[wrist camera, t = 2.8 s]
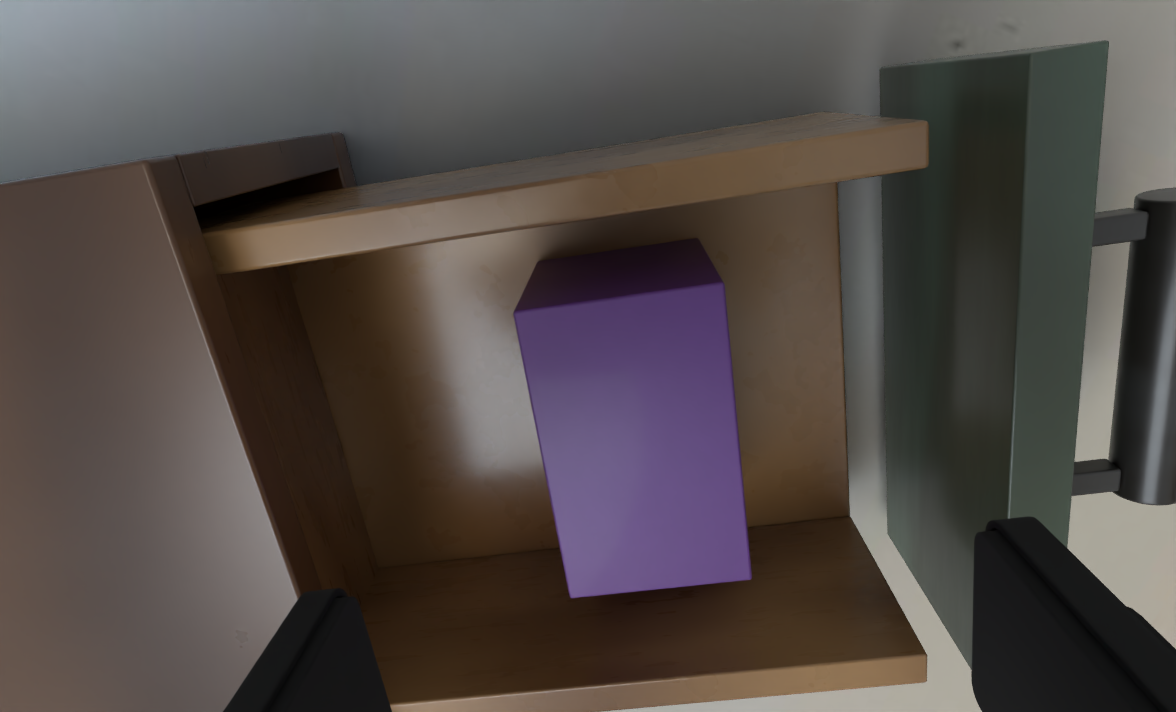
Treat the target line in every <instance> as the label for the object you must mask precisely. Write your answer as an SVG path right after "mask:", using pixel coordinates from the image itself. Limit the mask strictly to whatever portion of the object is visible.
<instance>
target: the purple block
mask: <svg viewBox="0 0 1176 712" xmlns="http://www.w3.org/2000/svg"><path fill="white" fill-rule="evenodd" d="M513 315H514V320H515V325H516V330H517V335H518V340H519V345H520V350H521V355H522V360H523V365H524V370H525V375H526V380H527V385H528V391H529V396H530V401H531V406H532V411H533V416H534V421H535V426H536V431H537V436H538V441H539V446H540V451H541V456H542V461H543V466H544V471H545V476H546V481H547V486H548V491H549V496H550V501H551V506H552V511H553V516H554V521H555V526H556V531H557V536H558V541H559V546H560V551H561V556H562V561H563V566H564V571H565V577H566V582H567V587H568V592H569V596H570V598H580V597H589V596H599V595H608V594H618V593H628V592H637V591H647V590H657V589H666V588H676V587H686V586H695V585H705V584H714V583H724V582H734V581H743V580H750V579H751V578H752V571H751V560H750V549H749V539H748V528H747V517H746V507H745V496H744V485H743V475H742V464H741V453H740V443H739V432H738V421H737V411H736V400H735V389H734V379H733V368H732V357H731V347H730V336H729V325H728V315H727V304H726V293H725V284H724V282H723V281H722V279H721V277H720V275H719V273H718V272H717V270H716V268H715V266H714V265H713V263H712V261H711V259H710V258H709V256H708V254H707V252H706V251H705V249H704V247H703V245H702V244H701V242H700V240H699V239H698V238H694V239H687V240H680V241H673V242H666V243H659V244H653V245H646V246H639V247H632V248H625V249H618V250H612V251H605V252H598V253H591V254H584V255H577V256H571V257H564V258H557V259H550V260H543V261H538V262H537V264H536V266H535V268H534V270H533V272H532V274H531V276H530V278H529V280H528V283H527V285H526V287H525V289H524V291H523V293H522V295H521V297H520V300H519V302H518V304H517V306H516V308H515V310H514V313H513Z"/></svg>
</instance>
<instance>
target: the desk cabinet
mask: <svg viewBox="0 0 1176 712" xmlns="http://www.w3.org/2000/svg"><path fill="white" fill-rule="evenodd" d="M355 186H356V182H355V178H354V174H353V170H352V166H351V162H350V159H349V155H348V151H347V147H346V143H345V139H344V135H343V134H342V132H335V133H327V134H320V135H312V136H305V137H298V138H290V139H283V140H276V141H268V142H261V143H254V144H246V145H239V146H232V147H225V148H217V149H210V150H203V151H195V152H188V153H181V154H174V155H167V156H159V157H152V158H145V159H138V160H133V161H127V162H121V163H115V164H109V165H103V166H97V167H91V168H85V169H79V170H73V171H67V172H61V173H55V174H49V175H43V176H37V177H31V178H25V179H19V180H13V181H7V182H1V183H0V712H223V711H224V710H225V708H226V707H227V705H228V704H229V702H230V701H231V699H232V698H233V696H234V695H235V693H236V692H237V690H238V689H239V687H240V686H241V684H242V683H243V681H244V680H245V678H246V677H247V675H248V674H249V672H250V671H251V669H252V668H253V666H254V665H255V663H256V662H257V660H258V659H259V657H260V656H261V654H262V653H263V651H264V650H265V648H266V647H267V645H268V644H269V642H270V641H271V639H272V638H273V636H274V635H275V633H276V632H277V630H278V629H279V627H280V626H281V624H282V623H283V621H284V620H285V618H286V617H287V615H288V614H289V612H290V611H291V609H292V608H293V606H294V605H295V603H296V602H297V600H298V599H299V597H300V596H301V595H302V594H303V593H305V592H307V591H317V590H323V589H322V586H321V583H320V580H319V577H318V574H317V571H316V568H315V566H314V563H313V560H312V557H311V554H310V551H309V548H308V545H307V542H306V539H305V536H304V533H303V530H302V527H301V524H300V521H299V518H298V515H297V512H296V509H295V506H294V503H293V500H292V498H291V495H290V492H289V489H288V486H287V483H286V480H285V477H284V474H283V471H282V468H281V465H280V462H279V459H278V456H277V453H276V450H275V447H274V444H273V441H272V438H271V435H270V432H269V430H268V427H267V424H266V421H265V418H264V415H263V412H262V409H261V406H260V403H259V400H258V397H257V394H256V391H255V388H254V385H253V382H252V379H251V376H250V373H249V370H248V367H247V365H246V362H245V359H244V356H243V353H242V350H241V347H240V344H239V341H238V338H237V335H236V332H235V329H234V326H233V323H232V320H231V317H230V314H229V311H228V308H227V305H226V302H225V299H224V297H223V294H222V291H221V288H220V285H219V282H218V279H217V276H216V273H215V270H214V267H213V264H212V261H211V258H210V255H209V252H208V249H207V246H206V243H205V240H204V237H203V234H202V232H201V229H200V226H199V223H198V219H202V218H205V217H208V216H212V215H215V214H218V213H222V212H225V211H228V210H232V209H235V208H238V207H242V206H245V205H248V204H252V203H255V202H260V201H267V200H273V199H279V198H286V197H292V196H298V195H304V194H311V193H317V192H323V191H330V190H336V189H342V188H348V187H355Z"/></svg>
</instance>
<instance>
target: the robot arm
mask: <svg viewBox="0 0 1176 712" xmlns="http://www.w3.org/2000/svg"><path fill="white" fill-rule="evenodd" d="M972 686H973V691H974V694H975V698H976V700H977V703H978V705H979V707H980V709H981V710H982V712H1176V649H1175V648H1174V647H1173V646H1172V645H1171V644H1170V643H1169V642H1168V641H1167V640H1166V639H1165V638H1164V637H1163V636H1162V635H1161V634H1159V633H1158V632H1157V631H1156V630H1155V629H1154V628H1153V627H1152V626H1151V625H1150V624H1149V623H1148V622H1147V621H1146V620H1145V619H1144V618H1143V617H1142V616H1141V615H1140V614H1138V613H1137V612H1136V611H1134V610H1133V609H1132V608H1129V607H1126V606H1125V605H1124V604H1123V603H1122V602H1121V601H1120V600H1119V599H1118V598H1117V597H1116V596H1115V595H1114V594H1113V593H1112V592H1111V591H1110V590H1109V589H1108V588H1107V587H1106V586H1105V585H1104V584H1103V583H1102V582H1101V581H1100V580H1099V579H1098V578H1097V577H1096V576H1095V575H1094V574H1093V573H1092V572H1091V571H1090V570H1089V569H1088V568H1087V567H1085V566H1084V565H1083V564H1082V563H1081V562H1080V561H1079V560H1078V559H1077V558H1076V557H1075V556H1074V555H1073V554H1072V553H1071V552H1070V551H1069V550H1068V549H1067V548H1066V547H1065V546H1064V545H1063V544H1062V543H1061V542H1060V541H1059V540H1058V539H1057V538H1056V537H1055V536H1054V535H1053V534H1052V533H1051V532H1050V531H1049V530H1048V529H1047V528H1046V527H1045V526H1044V525H1043V524H1042V523H1041V522H1040V521H1039V520H1037V519H1036V518H1035V517H1031V516H1028V517H1018V518H1009V519H999V520H991V521H989V522H988V523H987V525H986V529H985V531H984V532H978V533H976V535H975V539H974V575H973V628H972ZM223 712H392V710H391V707H390V703H389V700H388V697H387V694H386V690H385V687H384V684H383V680H382V677H381V674H380V671H379V667H378V664H377V661H376V658H375V654H374V651H373V648H372V644H371V641H370V638H369V635H368V631H367V628H366V625H365V622H364V618H363V615H362V612H361V608H360V605H359V603H358V600H357V599H356V598H355V597H353V596H351V597H348V595H347V593H346V592H345V591H344V590H343V589H341V588H336V589H326V590H317V591H307V592H305V593H303V594H302V595H301V596H300V597H299V599H298V600H297V602H296V603H295V605H294V606H293V608H292V609H291V611H290V612H289V614H288V615H287V617H286V618H285V620H284V621H283V623H282V624H281V626H280V627H279V629H278V630H277V632H276V633H275V635H274V636H273V638H272V639H271V641H270V642H269V644H268V645H267V647H266V648H265V650H264V651H263V653H262V654H261V656H260V657H259V659H258V660H257V662H256V663H255V665H254V666H253V668H252V669H251V671H250V672H249V674H248V675H247V677H246V678H245V680H244V681H243V683H242V684H241V686H240V687H239V689H238V690H237V692H236V693H235V695H234V696H233V698H232V699H231V701H230V702H229V704H228V705H227V707H226V708H225V710H224V711H223Z"/></svg>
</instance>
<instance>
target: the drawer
mask: <svg viewBox="0 0 1176 712" xmlns="http://www.w3.org/2000/svg"><path fill="white" fill-rule="evenodd" d="M1108 47H1109V42H1108V41H1106V40H1104V41H1095V42H1086V43H1077V44H1068V45H1058V46H1049V47H1040V48H1031V49H1022V50H1013V51H1004V52H994V53H985V54H976V55H967V56H958V57H949V58H940V59H931V60H923V61H917V62H911V63H905V64H899V65H893V66H887V67H881V68H880V117H879V116H867V115H856V114H844V113H832V112H819V113H813V114H806V115H800V116H794V117H788V118H781V119H775V120H769V121H763V122H756V123H750V124H744V125H737V126H731V127H725V128H719V129H712V130H706V131H700V132H693V133H687V134H681V135H675V136H668V137H662V138H656V139H650V140H643V141H637V142H631V143H624V144H618V145H612V146H606V147H599V148H593V149H587V150H581V151H574V152H568V153H562V154H555V155H549V156H543V157H537V158H530V159H524V160H518V161H511V162H505V163H499V164H493V165H486V166H480V167H474V168H468V169H461V170H455V171H449V172H442V173H436V174H430V175H424V176H417V177H411V178H405V179H399V180H392V181H386V182H380V183H373V184H367V185H361V186H355V187H348V188H342V189H336V190H330V191H323V192H317V193H311V194H304V195H298V196H292V197H286V198H279V199H273V200H267V201H260V202H255V203H252V204H248V205H245V206H242V207H238V208H235V209H232V210H228V211H225V212H222V213H218V214H215V215H212V216H208V217H205V218H202V219H198V223H199V226H200V229H201V232H202V234H203V237H204V240H205V243H206V246H207V249H208V252H209V255H210V258H211V261H212V264H213V267H214V270H215V273H216V276H217V279H218V282H219V285H220V288H221V291H222V294H223V297H224V299H225V302H226V305H227V308H228V311H229V314H230V317H231V320H232V323H233V326H234V329H235V332H236V335H237V338H238V341H239V344H240V347H241V350H242V353H243V356H244V359H245V362H246V365H247V367H248V370H249V373H250V376H251V379H252V382H253V385H254V388H255V391H256V394H257V397H258V400H259V403H260V406H261V409H262V412H263V415H264V418H265V421H266V424H267V427H268V430H269V432H270V435H271V438H272V441H273V444H274V447H275V450H276V453H277V456H278V459H279V462H280V465H281V468H282V471H283V474H284V477H285V480H286V483H287V486H288V489H289V492H290V495H291V498H292V500H293V503H294V506H295V509H296V512H297V515H298V518H299V521H300V524H301V527H302V530H303V533H304V536H305V539H306V542H307V545H308V548H309V551H310V554H311V557H312V560H313V563H314V566H315V568H316V571H317V574H318V577H319V580H320V583H321V586H322V589H323V590H326V589H336V588H341V589H343V590H344V591H345V592H346V593H347V595H348V597H351V596H353V597H355V598H356V599H357V600H358V603H359V605H360V608H361V612H362V615H363V618H364V622H365V625H366V628H367V631H368V635H369V638H370V641H371V644H372V648H373V651H374V654H375V658H376V661H377V664H378V667H379V671H380V674H381V677H382V680H383V684H384V687H385V690H386V694H387V697H388V700H389V703H390V707H391V710H392V712H599V711H610V710H622V709H633V708H644V707H655V706H666V705H678V704H689V703H700V702H711V701H722V700H733V699H745V698H756V697H767V696H778V695H789V694H800V693H812V692H823V691H834V690H845V689H856V688H868V687H879V686H890V685H901V684H912V683H923V682H926V681H927V654H926V652H925V650H924V649H923V647H922V645H921V643H920V641H919V640H918V638H917V636H916V634H915V632H914V631H913V629H912V627H911V625H910V623H909V622H908V620H907V618H906V616H905V614H904V612H903V611H902V609H901V607H900V605H899V603H898V602H897V600H896V598H895V596H894V594H893V593H892V591H891V589H890V587H889V585H888V584H887V582H886V580H885V578H884V576H883V575H882V573H881V571H880V569H879V567H878V565H877V564H876V562H875V560H874V558H873V556H872V555H871V553H870V551H869V549H868V547H867V546H866V544H865V542H864V540H863V538H862V537H861V535H860V533H859V531H858V529H857V528H856V526H855V524H854V522H853V520H852V518H851V517H850V505H849V479H848V452H847V425H846V398H845V371H844V345H843V318H842V291H841V264H840V237H839V211H838V184H837V182H841V181H848V180H854V179H861V178H868V177H874V176H881V177H882V236H883V295H884V354H885V413H886V472H887V531H888V535H889V537H890V538H891V540H892V542H893V543H894V545H895V546H896V548H897V550H898V551H899V553H900V555H901V556H902V558H903V559H904V561H905V563H906V564H907V566H908V568H909V569H910V571H911V572H912V574H913V576H914V577H915V579H916V581H917V582H918V584H919V585H920V587H921V589H922V590H923V592H924V594H925V595H926V597H927V598H928V600H929V602H930V603H931V605H932V607H933V608H934V610H935V611H936V613H937V615H938V616H939V618H940V620H941V621H942V623H943V624H944V626H945V628H946V629H947V631H948V633H949V634H950V636H951V637H952V639H953V641H954V642H955V644H956V646H957V647H958V649H959V650H960V652H961V654H962V655H963V657H964V658H965V660H966V662H967V663H968V665H969V667H970V668H971V670H972V628H973V575H974V539H975V535H976V533H978V532H984V531H985V529H986V525H987V523H988V522H989V521H991V520H999V519H1009V518H1018V517H1028V516H1031V517H1035V518H1036V519H1037V520H1039V521H1040V522H1041V523H1042V524H1043V525H1044V526H1045V527H1046V528H1047V529H1048V530H1049V531H1050V532H1051V533H1052V534H1053V535H1054V536H1055V537H1056V538H1057V539H1058V540H1059V541H1060V542H1061V543H1062V544H1063V545H1064V546H1065V547H1066V548H1067V544H1068V532H1069V520H1070V508H1071V496H1076V495H1085V494H1094V493H1103V492H1113V493H1115V494H1116V495H1118V496H1120V497H1122V498H1124V499H1127V500H1130V501H1133V502H1137V503H1141V504H1148V505H1170V504H1174V503H1176V188H1165V189H1157V190H1151V191H1146V192H1143V193H1140V194H1138V195H1136V197H1135V200H1134V209H1133V208H1125V209H1118V210H1111V211H1104V212H1097V213H1095V205H1096V193H1097V181H1098V169H1099V156H1100V144H1101V132H1102V120H1103V108H1104V96H1105V84H1106V72H1107V60H1108ZM694 238H698V239H699V240H700V242H701V244H702V245H703V247H704V249H705V251H706V252H707V254H708V256H709V258H710V259H711V261H712V263H713V265H714V266H715V268H716V270H717V272H718V273H719V275H720V277H721V279H722V281H723V282H724V284H725V293H726V304H727V315H728V325H729V336H730V347H731V357H732V368H733V379H734V389H735V400H736V411H737V421H738V432H739V443H740V453H741V464H742V475H743V485H744V496H745V507H746V517H747V528H748V539H749V549H750V560H751V571H752V578H751V579H750V580H743V581H734V582H724V583H714V584H705V585H695V586H686V587H676V588H666V589H657V590H647V591H637V592H628V593H618V594H608V595H599V596H589V597H580V598H570V596H569V592H568V587H567V582H566V577H565V571H564V566H563V561H562V556H561V551H560V546H559V541H558V536H557V531H556V526H555V521H554V516H553V511H552V506H551V501H550V496H549V491H548V486H547V481H546V476H545V471H544V466H543V461H542V456H541V451H540V446H539V441H538V436H537V431H536V426H535V421H534V416H533V411H532V406H531V401H530V396H529V391H528V385H527V380H526V375H525V370H524V365H523V360H522V355H521V350H520V345H519V340H518V335H517V330H516V325H515V320H514V315H513V313H514V310H515V308H516V306H517V304H518V302H519V300H520V297H521V295H522V293H523V291H524V289H525V287H526V285H527V283H528V280H529V278H530V276H531V274H532V272H533V270H534V268H535V266H536V264H537V262H538V261H543V260H550V259H557V258H564V257H571V256H577V255H584V254H591V253H598V252H605V251H612V250H618V249H625V248H632V247H639V246H646V245H653V244H659V243H666V242H673V241H680V240H687V239H694ZM1123 242H1130V250H1129V260H1128V270H1127V279H1126V289H1125V299H1124V309H1123V319H1122V329H1121V339H1120V349H1119V359H1118V369H1117V379H1116V389H1115V399H1114V409H1113V419H1112V429H1111V439H1110V449H1109V459H1108V460H1107V459H1097V460H1088V461H1080V462H1074V459H1075V447H1076V435H1077V423H1078V411H1079V399H1080V387H1081V374H1082V362H1083V350H1084V338H1085V326H1086V314H1087V302H1088V290H1089V278H1090V265H1091V253H1092V247H1094V246H1102V245H1109V244H1116V243H1123Z"/></svg>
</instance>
